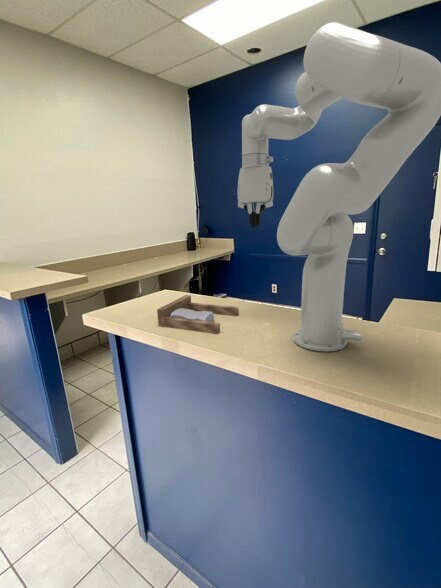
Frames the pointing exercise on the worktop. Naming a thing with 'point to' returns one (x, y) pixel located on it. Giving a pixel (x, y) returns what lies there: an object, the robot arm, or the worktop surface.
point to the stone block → (193, 315)
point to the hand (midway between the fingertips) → (255, 227)
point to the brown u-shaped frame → (186, 303)
